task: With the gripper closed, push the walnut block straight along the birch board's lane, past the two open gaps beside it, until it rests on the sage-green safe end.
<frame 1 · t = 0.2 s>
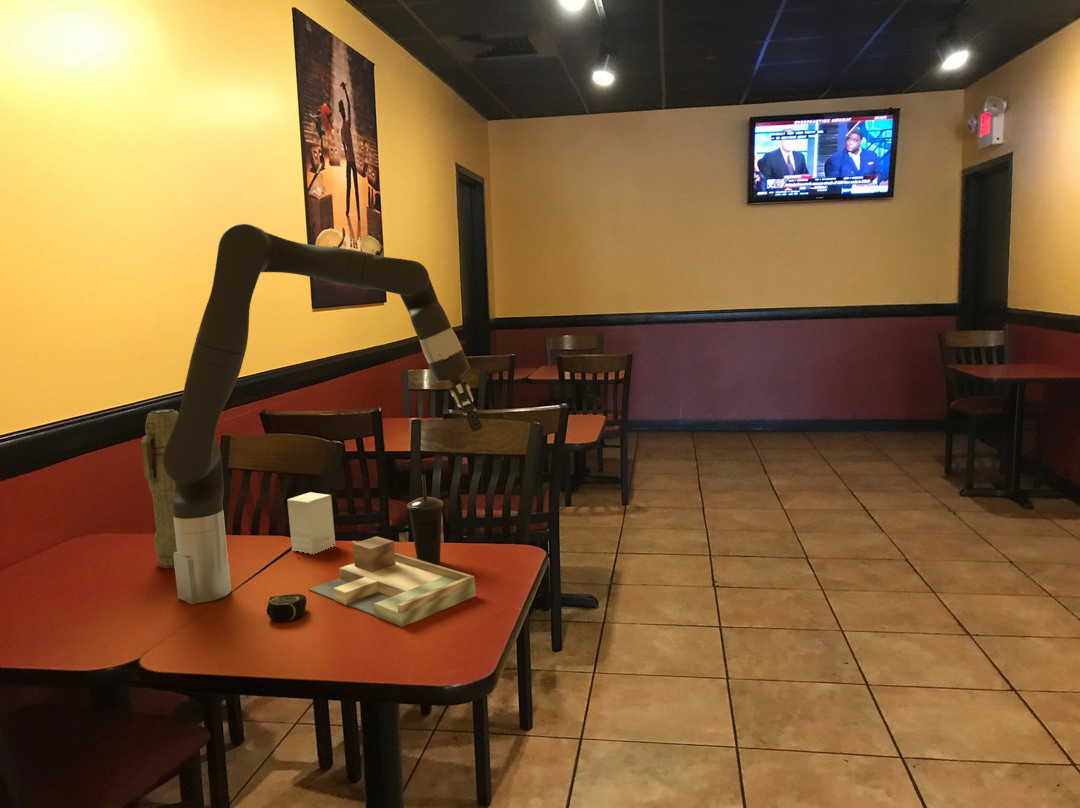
hand: (476, 426, 168), 31 cm above the table, fingers open, 8 cm apart
supplement box: (313, 549, 192), on the table
walnut block: (375, 565, 170), point 2 cm above the table, touching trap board
tape measure: (286, 617, 152), on the table
drinking cup: (429, 564, 178), on the table
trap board: (390, 593, 161), on the table
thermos: (178, 562, 186), on the table
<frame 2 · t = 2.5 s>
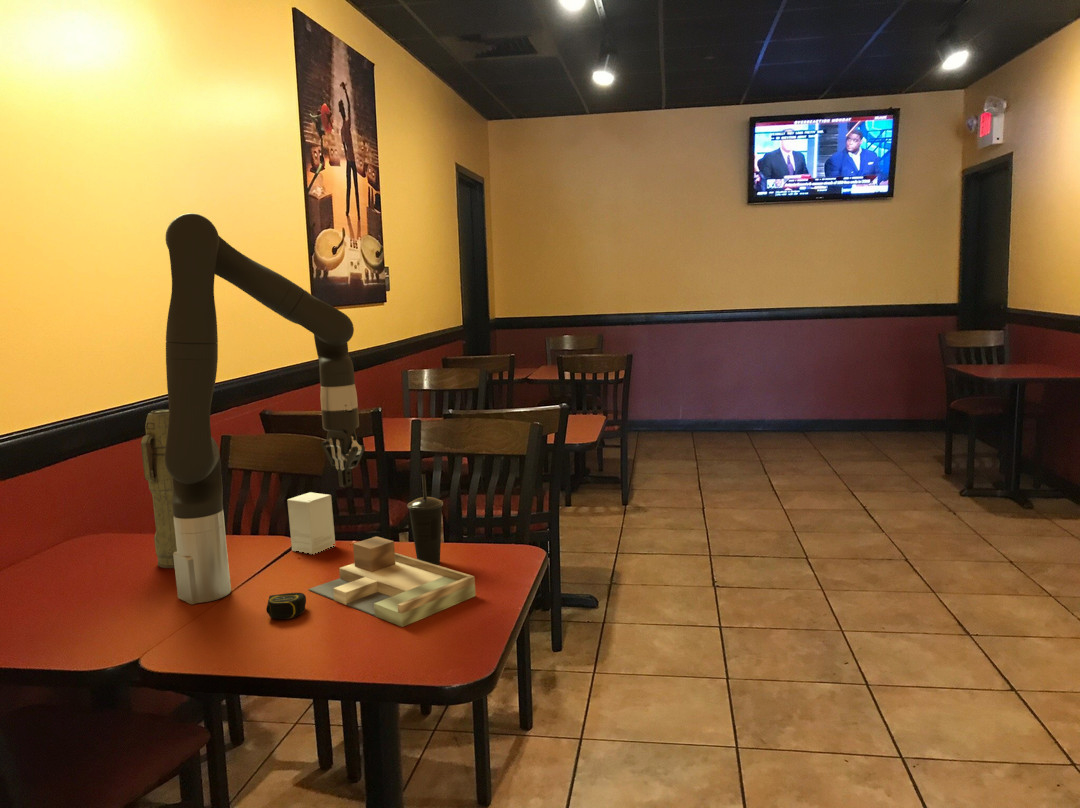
hand: (345, 486, 174), 18 cm above the table, fingers closed
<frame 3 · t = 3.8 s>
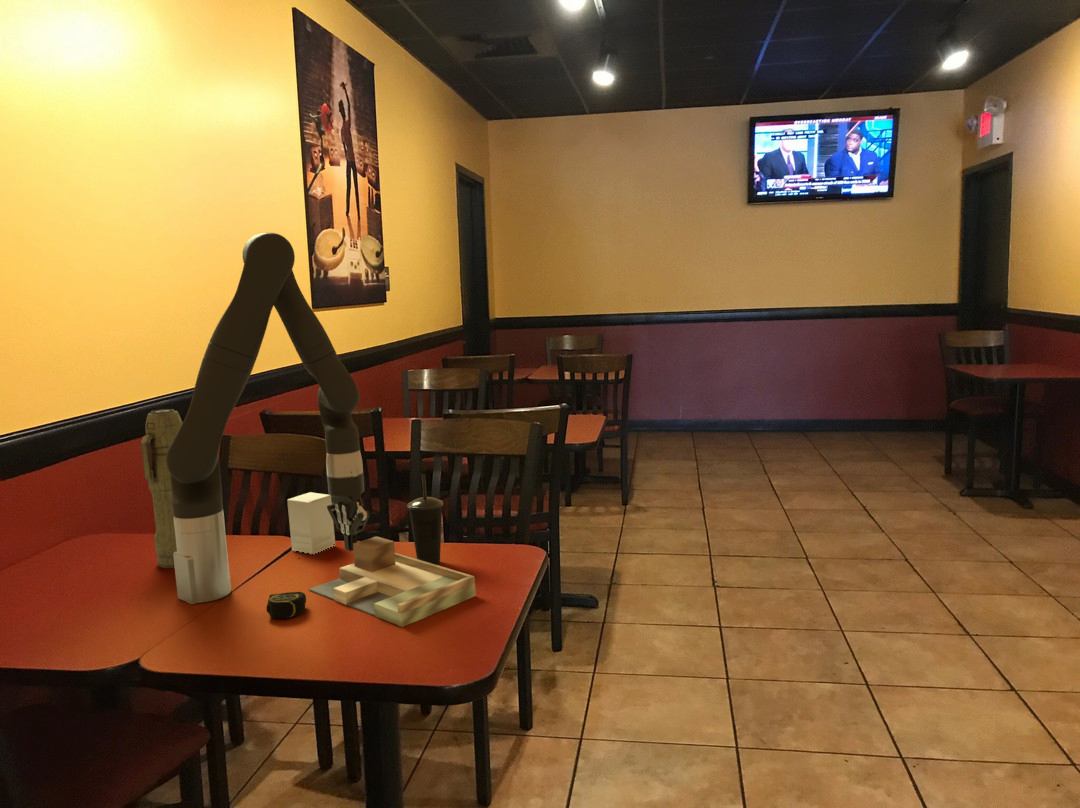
hand: (351, 549, 176), 4 cm above the table, fingers closed
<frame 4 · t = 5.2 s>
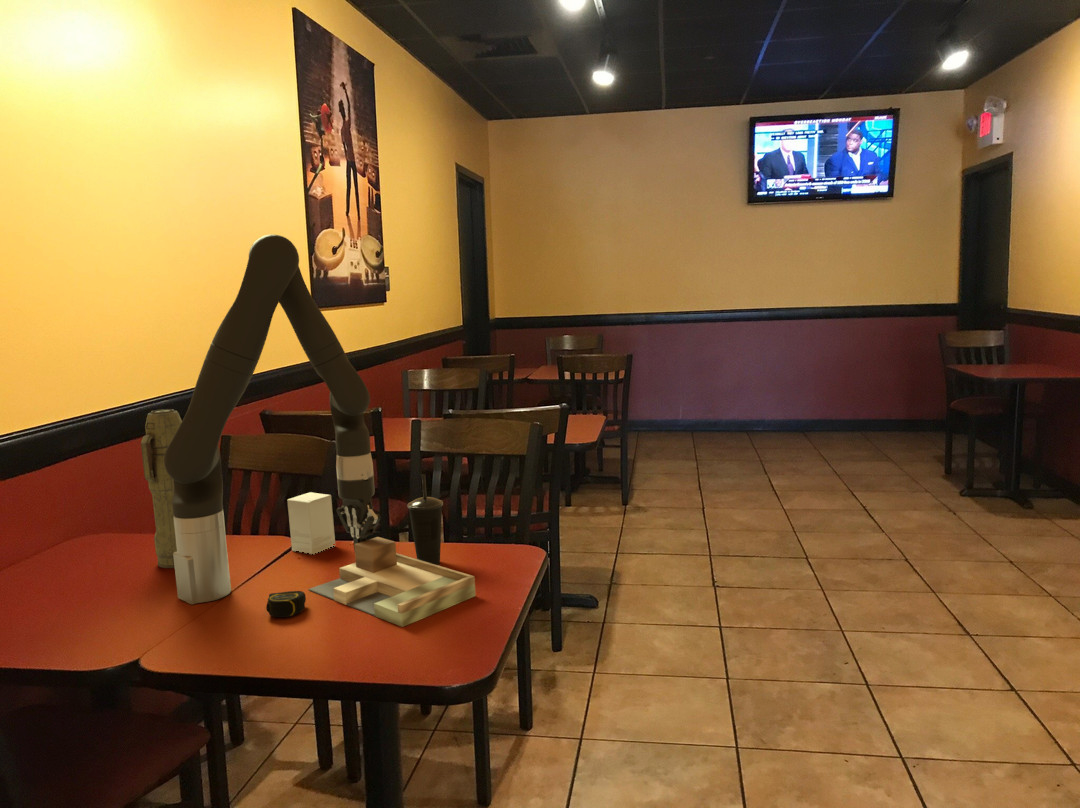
hand: (361, 553, 174), 4 cm above the table, fingers closed
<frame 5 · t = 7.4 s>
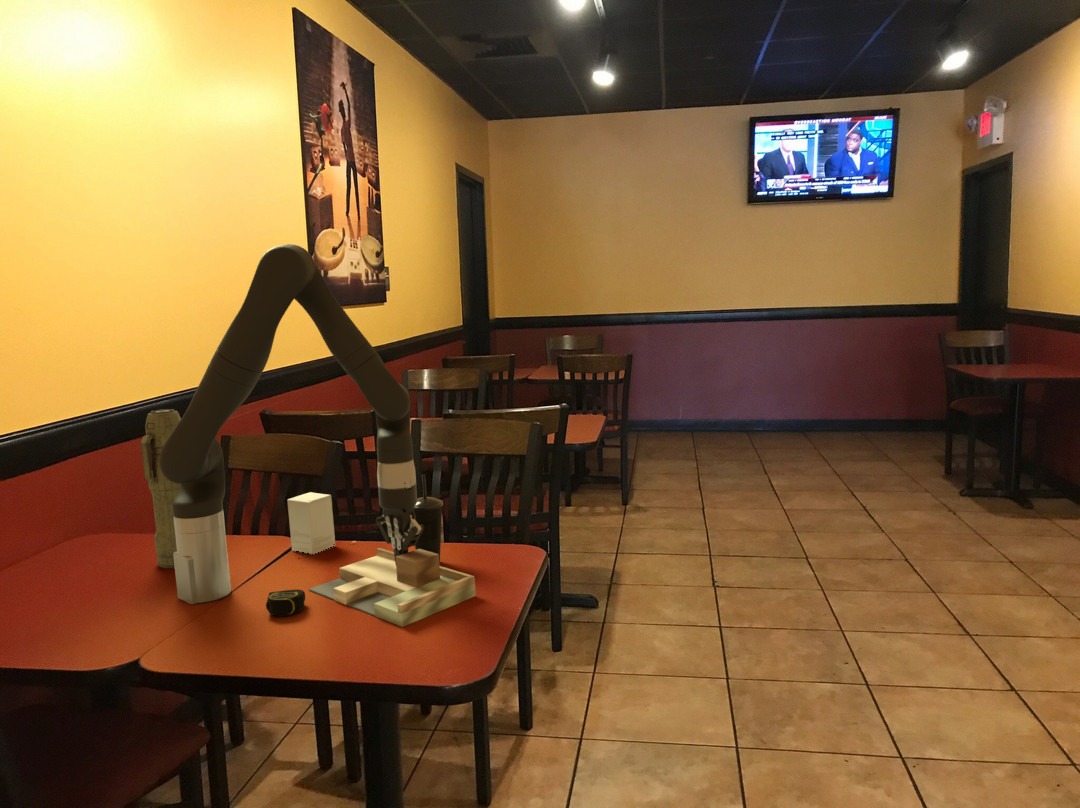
hand: (402, 565, 164), 4 cm above the table, fingers closed
walnut block: (418, 579, 161), point 3 cm above the table, touching gripper, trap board
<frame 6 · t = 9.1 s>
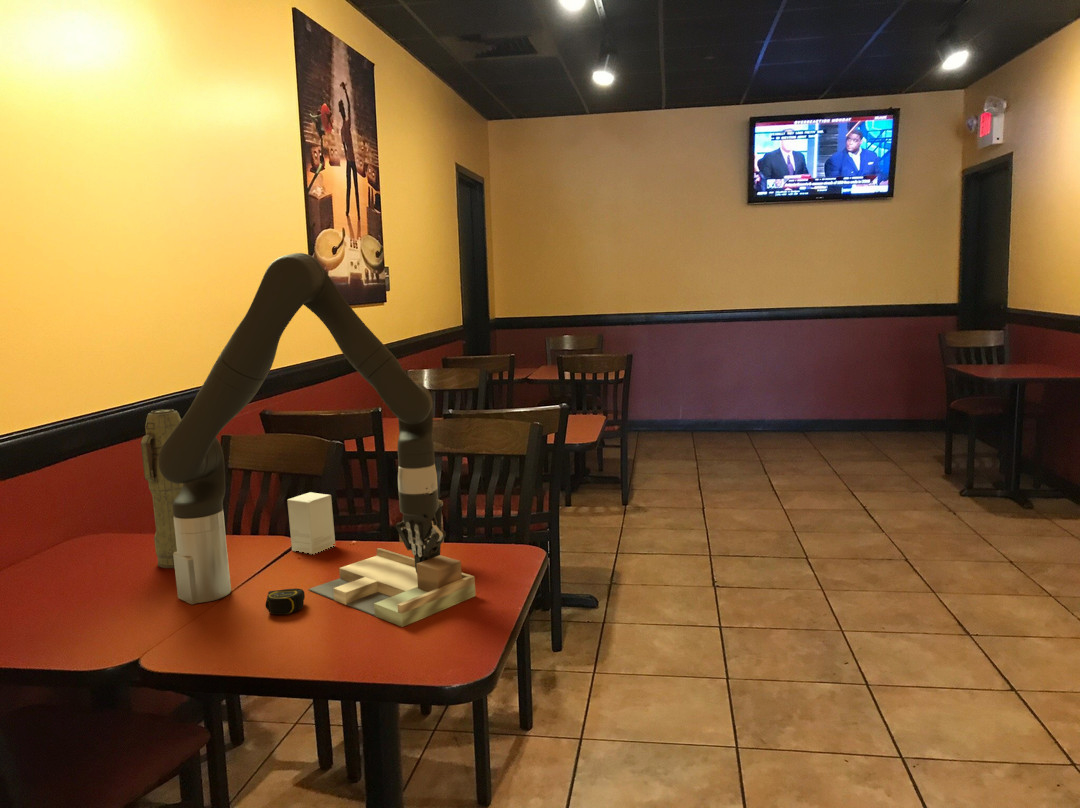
hand: (422, 572, 160), 4 cm above the table, fingers closed
walnut block: (440, 587, 156), point 2 cm above the table, touching gripper, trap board
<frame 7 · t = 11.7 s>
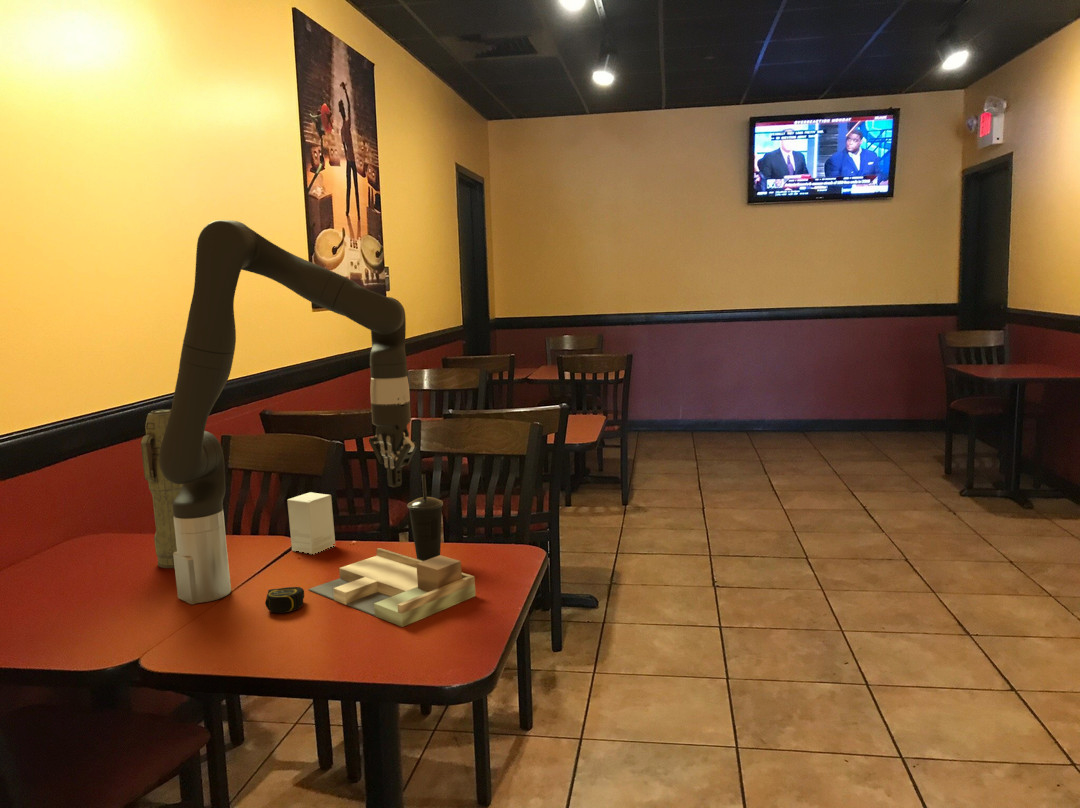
hand: (395, 486, 161), 21 cm above the table, fingers closed
walnut block: (440, 587, 156), point 2 cm above the table, touching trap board
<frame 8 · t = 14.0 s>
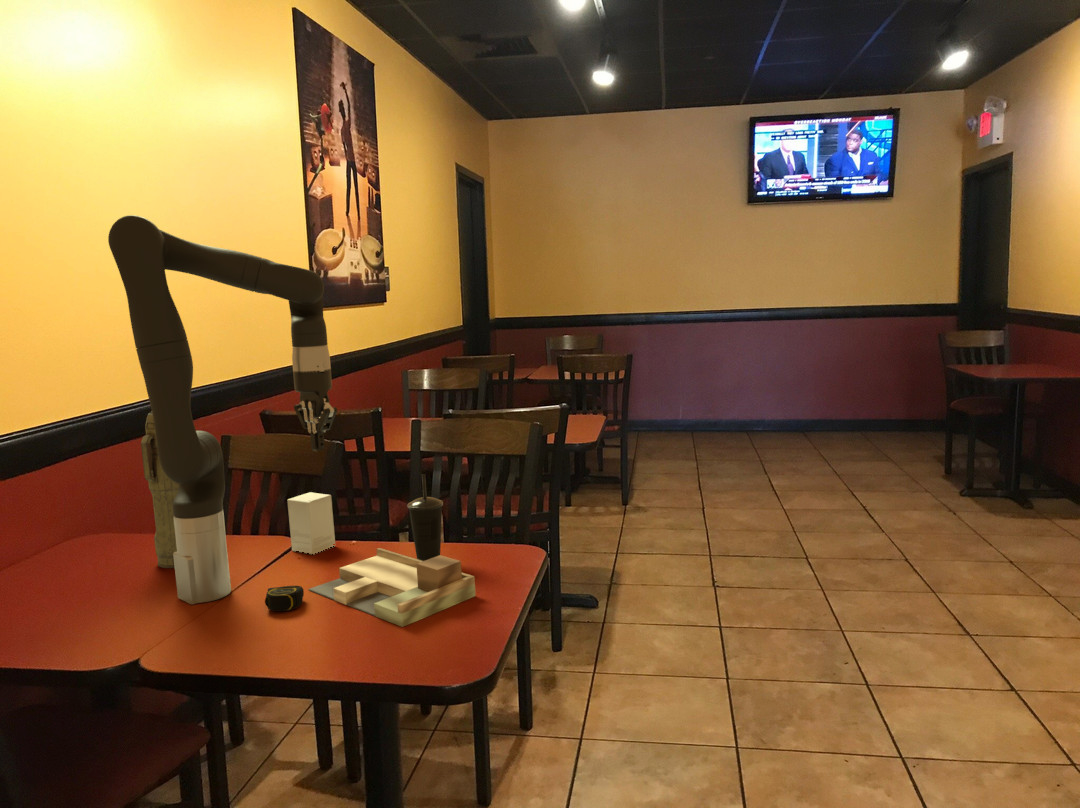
hand: (318, 450, 170), 27 cm above the table, fingers closed
at the end: walnut block inside the target area (0.8 cm from its centre), point 2.5 cm above the table; walnut block tilted 0° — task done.
